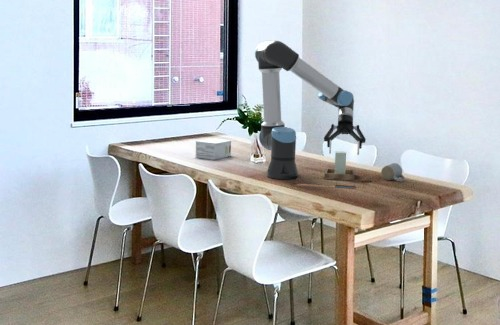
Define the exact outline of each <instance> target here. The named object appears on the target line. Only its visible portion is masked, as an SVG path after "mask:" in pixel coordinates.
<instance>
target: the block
mask: <svg viewBox="0 0 500 325" xmlns="http://www.w3.org/2000/svg"><path fill="white" fill-rule="evenodd" d="M346 163H347V151H339V150H336V151H335V155H334V169H335V172H334V174H345V173H346V172H345V169H347V168H346V167H347V166H346V165H347V164H346Z"/></svg>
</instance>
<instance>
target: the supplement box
mask: <svg viewBox="0 0 500 325" xmlns="http://www.w3.org/2000/svg"><path fill="white" fill-rule="evenodd" d="M228 156H229V157H231V156H232V140H229V139H218V138H209V139H203V140H197V141H195V158H198V159H206V160H214V161H215V160H220V159H224V158H228Z"/></svg>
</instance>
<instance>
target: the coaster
mask: <svg viewBox="0 0 500 325" xmlns="http://www.w3.org/2000/svg"><path fill="white" fill-rule="evenodd" d="M334 188H336V189H337V188H338V189H350V190H351V189H353V190H354V189H355V190H356V186H355V185H345V184H344V185H342V184H334Z"/></svg>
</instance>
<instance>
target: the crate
mask: <svg viewBox="0 0 500 325" xmlns="http://www.w3.org/2000/svg"><path fill="white" fill-rule="evenodd" d="M355 170H356V169H347V168H345V172H346V173H345V174H334V172H335V168H325V170H324V176H323V177H324V180H337V181H339V180H340V181H355V178H356V176H355V175H356V171H355Z"/></svg>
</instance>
